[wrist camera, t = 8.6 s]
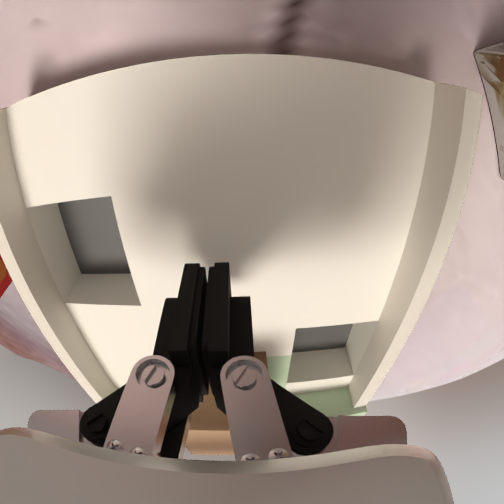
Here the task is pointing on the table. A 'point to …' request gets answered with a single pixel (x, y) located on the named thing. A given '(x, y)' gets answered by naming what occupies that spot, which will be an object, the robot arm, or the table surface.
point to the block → (212, 425)
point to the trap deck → (237, 209)
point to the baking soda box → (4, 277)
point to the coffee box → (494, 91)
